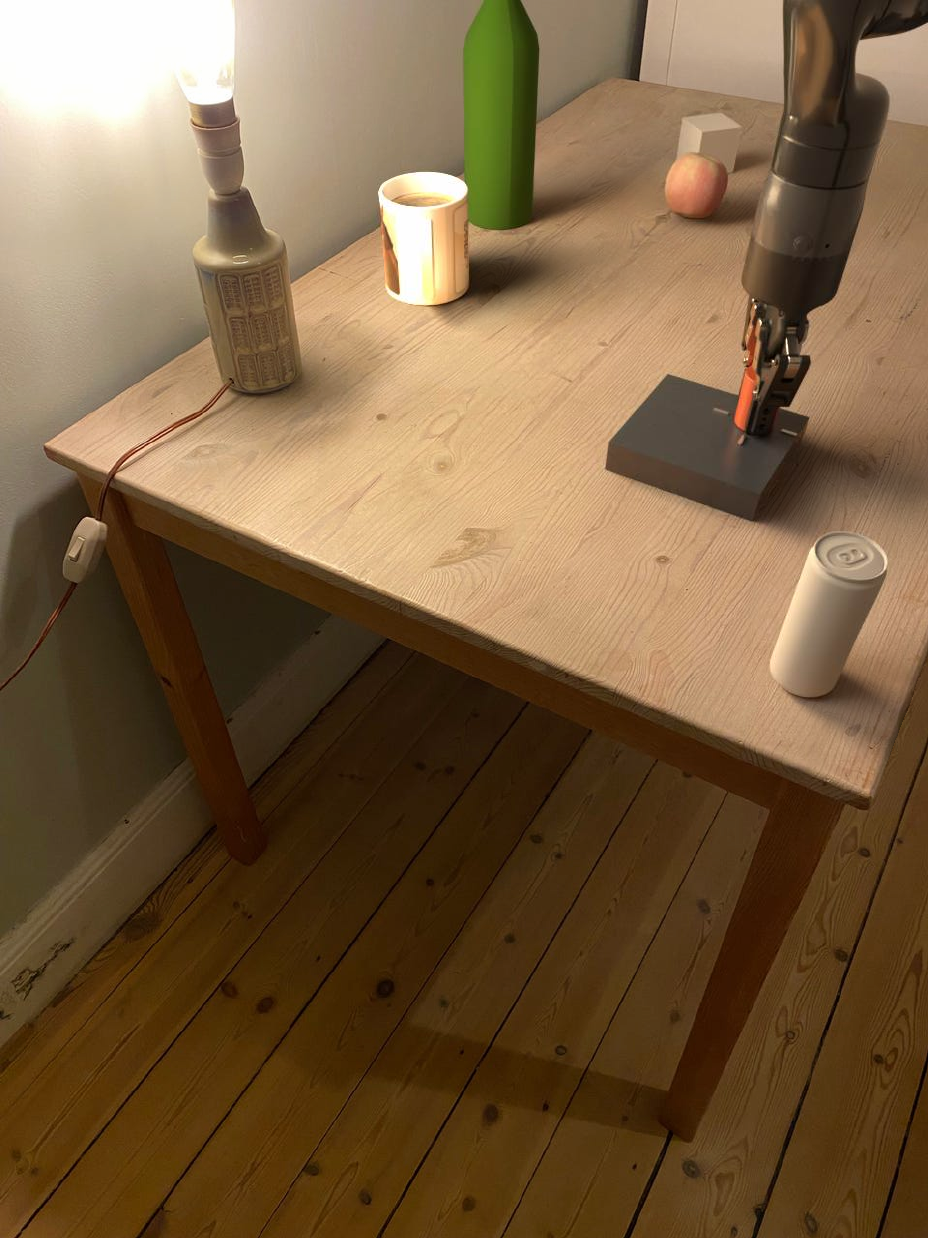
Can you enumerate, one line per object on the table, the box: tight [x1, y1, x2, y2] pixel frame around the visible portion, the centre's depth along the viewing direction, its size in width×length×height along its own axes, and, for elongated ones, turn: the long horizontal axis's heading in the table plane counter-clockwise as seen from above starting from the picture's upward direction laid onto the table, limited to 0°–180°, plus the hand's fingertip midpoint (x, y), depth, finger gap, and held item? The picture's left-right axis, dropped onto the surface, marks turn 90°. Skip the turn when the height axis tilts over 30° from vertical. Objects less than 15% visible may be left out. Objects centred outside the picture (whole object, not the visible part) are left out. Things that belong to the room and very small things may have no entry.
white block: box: [675, 112, 743, 174], centre depth 128 cm, size 6×6×6 cm
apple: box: [664, 152, 729, 219], centre depth 116 cm, size 8×8×8 cm
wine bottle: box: [462, 0, 540, 231], centre depth 108 cm, size 9×9×32 cm
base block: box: [604, 373, 810, 522], centre depth 83 cm, size 14×13×3 cm
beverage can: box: [769, 530, 890, 698], centre depth 62 cm, size 5×5×12 cm
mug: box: [378, 171, 470, 306], centre depth 103 cm, size 10×12×11 cm
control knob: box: [734, 365, 781, 431], centre depth 81 cm, size 4×4×5 cm
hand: (752, 418), depth 82 cm, fingers closed on control knob, 3 cm apart
